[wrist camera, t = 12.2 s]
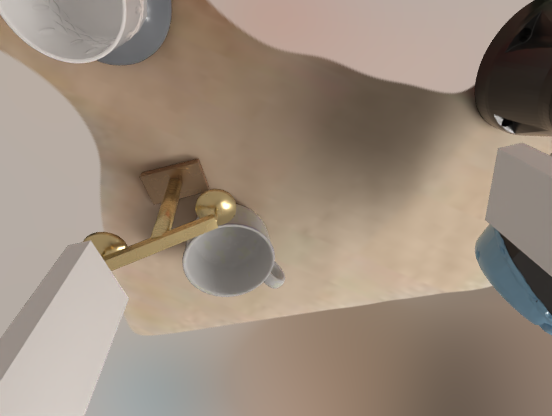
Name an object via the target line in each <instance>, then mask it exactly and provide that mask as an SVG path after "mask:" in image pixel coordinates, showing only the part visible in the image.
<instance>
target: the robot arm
mask: <svg viewBox="0 0 552 416" xmlns="http://www.w3.org/2000/svg"><path fill="white" fill-rule="evenodd" d="M475 99H476V104H477V108H478V110H479V112H480V114H481V116H482V117H483V118H484V120H485V121H486V122H488V123H489V124H490V125H492V126H494V127H496V128H498V129H500V130H503V131H505V132H507V133H511V134H516V135H529V136H552V0H534V1H533V2H531V3H529V4H528V5H526V6H525V7H524V8H522V9H521V10H520V11H518V12H517V13H516V14H515V15H514V16H513V17H512V18H511V19H510V20H509V21H508V22H507V23H506V24H505V25H504V26H503V27H502V28H501V29H500V31H499V32H498V33H497V35H496V36H495V37H494V39H493V40H492V42H491V44H490V45H489V47H488V49H487V50H486V52H485V54H484V56H483V59H482V61H481V64H480V66H479V70H478V73H477V77H476V83H475ZM485 220H486V221H487V222H488V223H489V225H488V227H487V228H486V229H485V230H484V232H483V233H482V234H481V236H480V237H479V238H478V240H477V242H476V245H475V254H476V259H477V261H478V263H479V266H480V268H481V270H482V271H483V273H484V275H485V276H486V278H487V279H488V280H489V282H490V283H491V284H492V285H493V286H494V288H495V289H496V290H497V291H498V292H499V294H501V296H502V297H503V298H504V299H505V300H506V301H507V302H508V303H509V304H510V305H511V306H512V307H513V308H515V309H516V310H517V311H518V312H519V313H520V314H521V315H523V316H524V317H525V318H526V319H528V320H529V321H530V322H532V323H533V324H535V325H539V326H540V327H541V328H542V329H543V330H544V331H545V332H547V333H549V334H551V335H552V153H551V155H548V154H546V153H543V152H541V151H539V150H537V149H535V148H533V147H531V146H529V145H526V144H524V143H519V144H515V145H510V146H506V147H501V148H498V151H497V157H496V162H495V168H494V173H493V179H492V184H491V190H490V195H489V201H488V207H487V212H486V218H485ZM128 300H129V298H128V296H127V295H126V293H125V292H124V290H123V289H122V287H121V286H120V284H119V283H118V281H117V280H116V278H115V276H114V275H113V273H112V272H111V270H110V269H109V267H108V266H107V264H106V263H105V261H104V260H103V258H102V257H101V255H100V254H99V252H98V250H97V249H96V247H95V246H94V244H93V243H92V241H91V240H90V241H85V242H81V243H77V244H72V245H68V246H67V247H66V249H65V250H64V252H63V253H62V254H61V256H60V257H59V258H58V260H57V261H56V262H55V264H54V265H53V267H52V268H51V270H50V271H49V272H48V274H47V275H46V276H45V278H44V279H43V280H42V282H41V283H40V285H39V286H38V287H37V289H36V290H35V292H34V293H33V294H32V296H31V297H30V298H29V300H28V301H27V302H26V304H25V305H24V307H23V308H22V309H21V311H20V312H19V314H18V315H17V316H16V318H15V319H14V320H13V322H12V323H11V325H10V326H9V327H8V329H7V330H6V332H5V333H4V334H3V336H2V337H1V338H0V416H84V415H85V412H86V410H87V407H88V404H89V402H90V399H91V397H92V394H93V391H94V389H95V386H96V383H97V381H98V378H99V375H100V373H101V370H102V368H103V365H104V362H105V360H106V357H107V354H108V352H109V349H110V347H111V344H112V341H113V339H114V336H115V334H116V331H117V328H118V326H119V323H120V321H121V318H122V315H123V313H124V310H125V307H126V305H127V302H128Z"/></svg>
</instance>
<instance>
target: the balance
mask: <svg viewBox="0 0 552 416" xmlns="http://www.w3.org/2000/svg"><path fill="white" fill-rule="evenodd" d="M140 178H141V180H142V182H143V184H144V186H145V188H146V190H147V192H148V194H149V196H150V198H151V200H152V202H153V204H154V205H155V204H159V203H162V204H161V207H160V210H159V213H158V216H157V219H156V222H155V225H154V228H153V232H152V235H151V238H149V239H147V240H144V241H141V242H139V243H136V244H134V245H131V246H129V247H128V246H127V244H126V243H125V241H124V240H123V239H121V238H120V237H119V236H117V235H114V234H112V233H108V232H96V233H93V234H90V235H89V236H87V237H86V238H85V239H84V241H83V242H85V241H90V240H91V241H92V243H93V244H94V246H95V247H96V249H97V250H98V252H99V254H100V255H101V257H102V258H103V260H104V261H105V263H106V264H107V266H108V267H109V269H110V270H111V271H112V270H115V269H117V268H120V267H122V266H125V265H127V264H130V263H132V262H135V261H137V260H140V259H142V258H145V257H147V256H150V255H152V254H155V253H157V252H159V251H162V250H164V249H167V248H169V247H172V246H174V245H177V244H179V243H182V242H184V241H187V240H189V239H192V238H194V237H197V236H199V235H202V234H204V233H207V232H209V231H211V230H214V229H216V228H218V225H223V224H226V223H228V222H229V221H231V220H232V219H233V217H234V216H235V213H236V202H235V200H234V198H233V197H232V195H231V194H229V193H228V192H226V191H224V190H220V189H212V190H209V185H208V183H207V180H206V177H205V174H204V172H203V169H202V166H201V164H200V161H199V159H195V160H191V161H186V162H182V163H178V164H174V165H170V166H166V167H162V168H158V169H154V170H150V171H146V172H142V174H141V176H140ZM200 193H202V194H201V195H200V196H199V198H198V199H197V202H196V213H197V216H198V217H199V218H200V219H198V220H195V221H192V222H190V223H187V224H185V225H182V226H180V227H177V228H175V229H172V225H173V220H174V216H175V212H176V208H177V204H178V200H179V199H180V198H184V197H188V196H192V195H196V194H200ZM171 229H172V230H171Z"/></svg>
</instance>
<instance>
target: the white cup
mask: <svg viewBox="0 0 552 416" xmlns="http://www.w3.org/2000/svg"><path fill="white" fill-rule="evenodd" d="M0 15H1V16H2V18H3V19H4V21H5V22H6V23H7V24H8V26H9V27H10V28H11V29H12V30H13V31H14V32H15V33H16V34H17V35H18V36H19V37H20V38H21V39H22V40H23V41H24V42H26V43H27V44H28V45H29V46H31V47H32V48H34V49H35V50H37V51H39V52H40V53H42V54H44V55H46V56H48V57H51V58H53V59H56V60H59V61H63V62H68V63H88V62H92V61H96V60H98V59H100V58H102V57H104V56H106V55H107V54H109V53H110V52H112V51H114V50H115V49H117V48H118V47H120V46H121V45H123V44H125V43H126V42H127V41H128V40H130V39H131V38H132V37H133V36H134V35H135V34H136V33H138V32H139V30H140V29H141V27H142V25H143V23H144V21H145V19H146V18H147V0H0Z"/></svg>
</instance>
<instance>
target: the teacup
mask: <svg viewBox="0 0 552 416" xmlns="http://www.w3.org/2000/svg"><path fill="white" fill-rule="evenodd" d="M198 219H200V218H199V217H197V218H196V220H198ZM274 260H275V256H274V249H273V247H272V244H271V242H270V238H269V235H268V232H267V229H266V226H265V224H264V222H263V221H262V219H261V218H260V217H259V216H258V215H257V214H256V213H255V212H254V211H252V210H251V209H249V208H247V207H245V206H242V205H238V204H236V213H235V216H234V217H233V219H232V220H231V221H229V222H228V223H226V224H223V225H218V228H216V229H214V230H211V231H209V232H207V233H204V234H202V235H199V236H197V237H194V238H192V239H189V240H187V243H186V249H185V251H184V254H183V268H184V272H185V275H186V277H187V278H188V280H189V281H190V282H191V283H192V284H193V285H194V286H195V287H196V288H197V289H199V290H201V291H203V292H205V293H207V294H211V295H215V296H221V297H231V296H238V295H242V294H245V293H247V292H250V291H252V290H253V289H255V288H256V287H258V286H259V285H261V284H262V283H263V282H264V283H265V284H266V285H268V286H269V287H271V288H279V287H280V286H281V285H282V284H283V283H284V281H285V275H284V272H283V271H282V269H281V268H280V266H279V265H278V264H277V263H276V262H275V261H274ZM271 273H272V274H271Z"/></svg>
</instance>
